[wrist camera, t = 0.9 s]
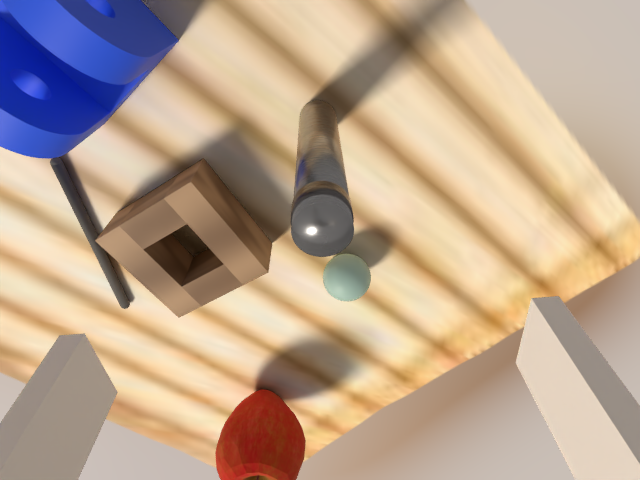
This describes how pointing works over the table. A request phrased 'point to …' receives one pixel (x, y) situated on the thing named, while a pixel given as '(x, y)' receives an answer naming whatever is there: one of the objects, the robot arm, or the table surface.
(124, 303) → the thin dark grey rod
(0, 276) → the table surface
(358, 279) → the loose teal bead
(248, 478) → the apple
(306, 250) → the grey metal cylinder rod
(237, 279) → the square wooden ring
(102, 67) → the bracket
